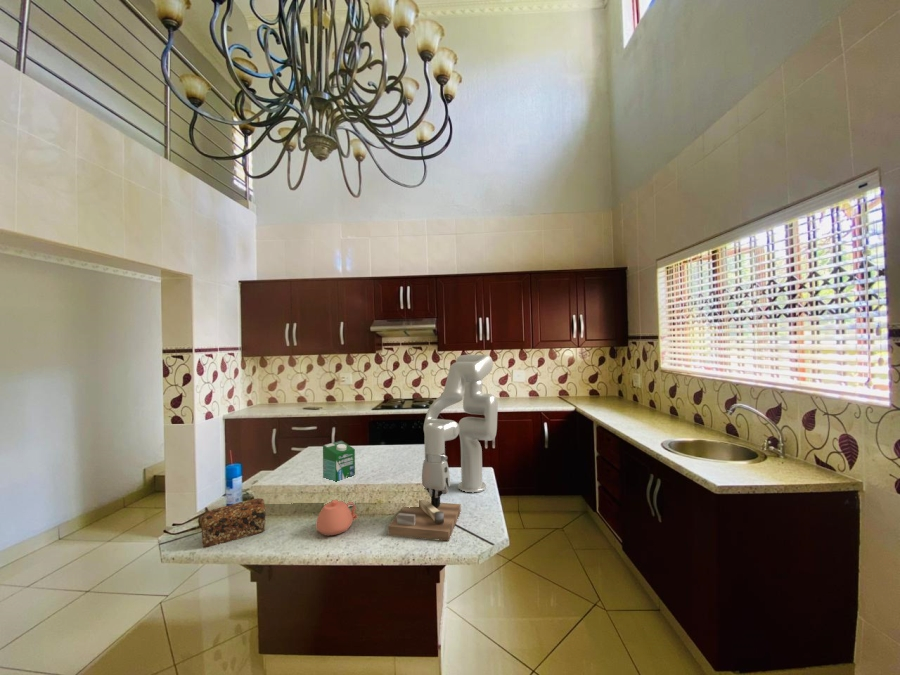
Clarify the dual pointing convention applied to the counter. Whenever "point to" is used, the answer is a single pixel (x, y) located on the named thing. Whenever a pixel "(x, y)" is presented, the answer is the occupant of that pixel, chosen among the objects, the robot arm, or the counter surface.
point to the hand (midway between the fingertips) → (435, 507)
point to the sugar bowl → (335, 517)
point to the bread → (233, 522)
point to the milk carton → (338, 461)
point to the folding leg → (432, 511)
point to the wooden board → (425, 523)
